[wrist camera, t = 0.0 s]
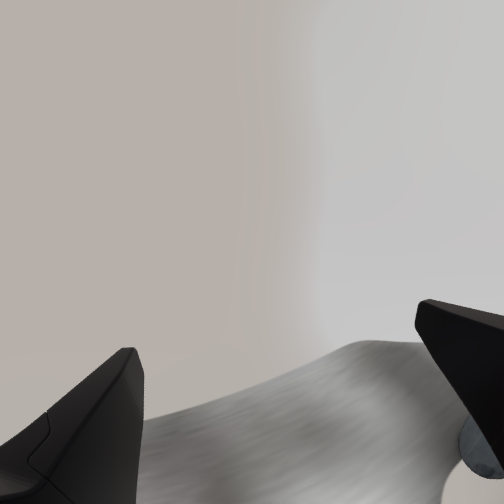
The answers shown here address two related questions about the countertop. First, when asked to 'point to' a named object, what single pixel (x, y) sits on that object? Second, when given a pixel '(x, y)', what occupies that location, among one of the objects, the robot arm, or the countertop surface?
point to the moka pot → (478, 452)
